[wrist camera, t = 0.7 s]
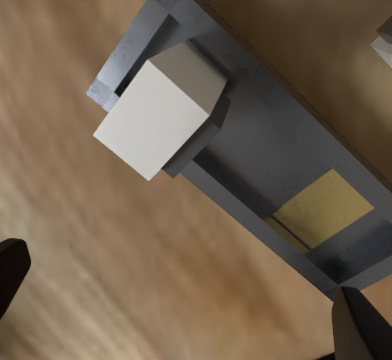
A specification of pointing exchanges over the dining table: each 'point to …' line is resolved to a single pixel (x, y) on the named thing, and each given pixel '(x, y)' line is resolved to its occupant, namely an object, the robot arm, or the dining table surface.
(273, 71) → the grey rectangular tray
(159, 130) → the block
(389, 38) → the block
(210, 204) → the dining table surface
